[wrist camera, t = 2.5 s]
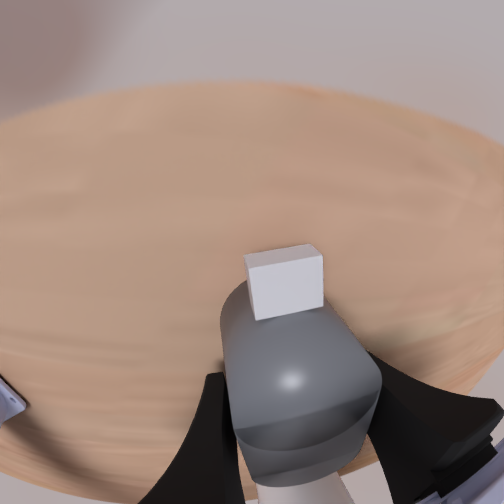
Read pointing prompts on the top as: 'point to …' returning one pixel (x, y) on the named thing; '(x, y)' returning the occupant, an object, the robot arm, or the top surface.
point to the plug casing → (294, 371)
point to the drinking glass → (307, 492)
